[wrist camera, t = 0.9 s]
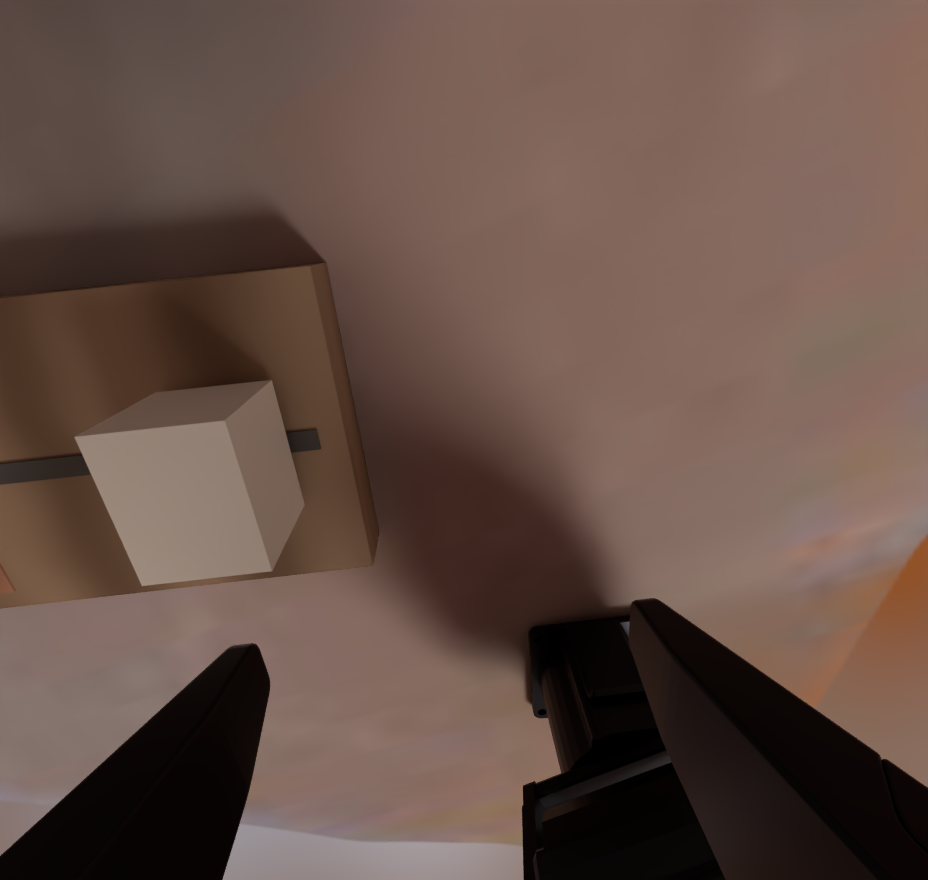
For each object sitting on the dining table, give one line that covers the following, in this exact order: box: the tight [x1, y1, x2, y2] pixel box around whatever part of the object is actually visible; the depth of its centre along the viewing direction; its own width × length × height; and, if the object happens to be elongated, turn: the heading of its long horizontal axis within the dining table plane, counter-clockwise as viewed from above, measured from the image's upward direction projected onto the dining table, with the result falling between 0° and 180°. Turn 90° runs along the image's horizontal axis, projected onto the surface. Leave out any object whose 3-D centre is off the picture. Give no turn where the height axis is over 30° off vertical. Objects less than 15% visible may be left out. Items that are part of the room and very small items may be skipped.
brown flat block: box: [0, 262, 379, 608], centre depth 19 cm, size 20×12×3 cm, turn 95°
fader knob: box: [75, 380, 305, 586], centre depth 16 cm, size 4×5×4 cm
